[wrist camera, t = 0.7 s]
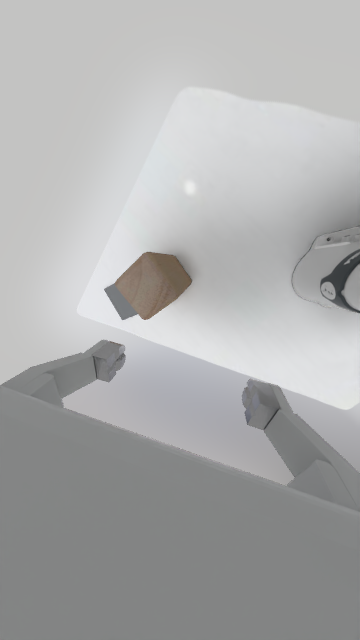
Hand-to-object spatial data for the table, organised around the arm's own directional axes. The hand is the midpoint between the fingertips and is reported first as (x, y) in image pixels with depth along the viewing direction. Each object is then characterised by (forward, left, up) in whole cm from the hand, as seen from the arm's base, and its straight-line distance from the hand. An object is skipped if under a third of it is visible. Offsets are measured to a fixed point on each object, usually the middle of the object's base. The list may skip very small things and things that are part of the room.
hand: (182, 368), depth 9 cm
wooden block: (+9, -6, -38) cm, 39 cm away
